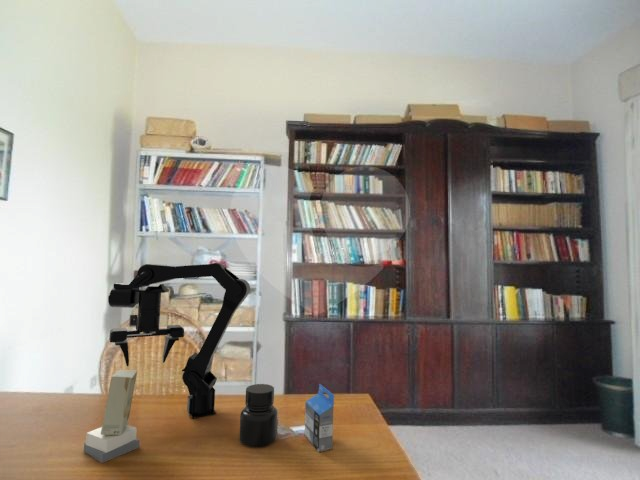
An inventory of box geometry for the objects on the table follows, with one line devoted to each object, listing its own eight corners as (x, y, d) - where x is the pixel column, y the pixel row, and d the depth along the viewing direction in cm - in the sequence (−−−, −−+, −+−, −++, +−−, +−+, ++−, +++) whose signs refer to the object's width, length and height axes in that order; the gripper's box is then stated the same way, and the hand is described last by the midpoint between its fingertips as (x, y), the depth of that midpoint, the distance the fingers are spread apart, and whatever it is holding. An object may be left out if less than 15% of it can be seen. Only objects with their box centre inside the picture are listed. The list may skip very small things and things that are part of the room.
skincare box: (121, 435, 78) (132, 377, 80) (99, 435, 77) (110, 376, 78) (128, 423, 85) (138, 369, 86) (108, 423, 83) (118, 368, 85)
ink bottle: (284, 435, 90) (286, 385, 91) (267, 452, 81) (269, 397, 82) (249, 428, 93) (251, 380, 94) (230, 444, 85) (232, 391, 85)
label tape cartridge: (303, 435, 90) (305, 384, 91) (317, 433, 91) (319, 383, 92) (318, 452, 82) (319, 396, 83) (333, 449, 83) (335, 394, 84)
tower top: (115, 432, 85) (116, 421, 85) (135, 439, 82) (136, 427, 82) (85, 444, 79) (86, 432, 79) (106, 452, 76) (107, 440, 76)
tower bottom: (120, 441, 86) (120, 430, 86) (138, 451, 82) (139, 439, 82) (83, 454, 80) (84, 442, 80) (101, 466, 75) (102, 454, 75)
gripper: (178, 304, 115) (175, 354, 114) (110, 306, 105) (106, 361, 104) (185, 308, 105) (182, 363, 104) (112, 310, 96) (107, 371, 94)
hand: (145, 364), depth 102 cm, fingers open, 9 cm apart
